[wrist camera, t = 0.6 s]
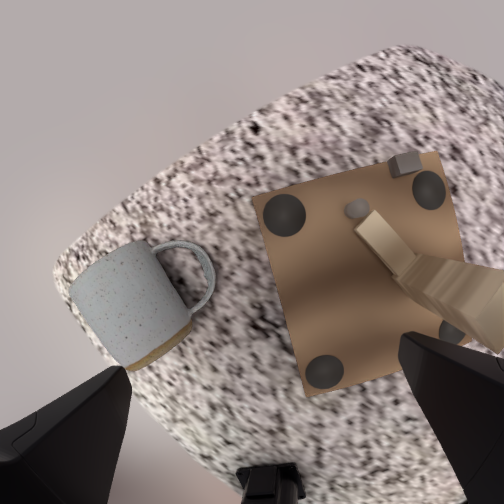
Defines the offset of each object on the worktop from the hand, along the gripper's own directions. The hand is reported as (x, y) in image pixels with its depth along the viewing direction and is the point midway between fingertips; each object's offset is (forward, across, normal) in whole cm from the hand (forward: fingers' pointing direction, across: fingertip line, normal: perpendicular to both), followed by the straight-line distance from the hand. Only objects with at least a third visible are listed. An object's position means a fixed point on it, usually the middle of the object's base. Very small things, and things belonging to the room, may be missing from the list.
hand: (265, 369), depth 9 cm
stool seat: (+14, -10, +3) cm, 17 cm away
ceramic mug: (+17, +8, +3) cm, 19 cm away
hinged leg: (+12, -11, +1) cm, 16 cm away
